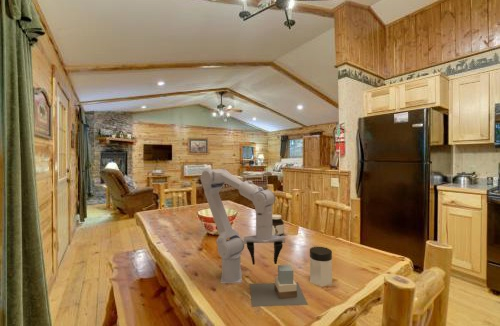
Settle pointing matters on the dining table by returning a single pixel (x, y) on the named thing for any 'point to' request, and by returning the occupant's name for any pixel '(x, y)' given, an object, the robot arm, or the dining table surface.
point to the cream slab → (285, 286)
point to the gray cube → (285, 274)
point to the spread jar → (277, 225)
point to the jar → (320, 266)
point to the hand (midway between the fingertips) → (264, 263)
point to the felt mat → (273, 296)
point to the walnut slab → (285, 293)
